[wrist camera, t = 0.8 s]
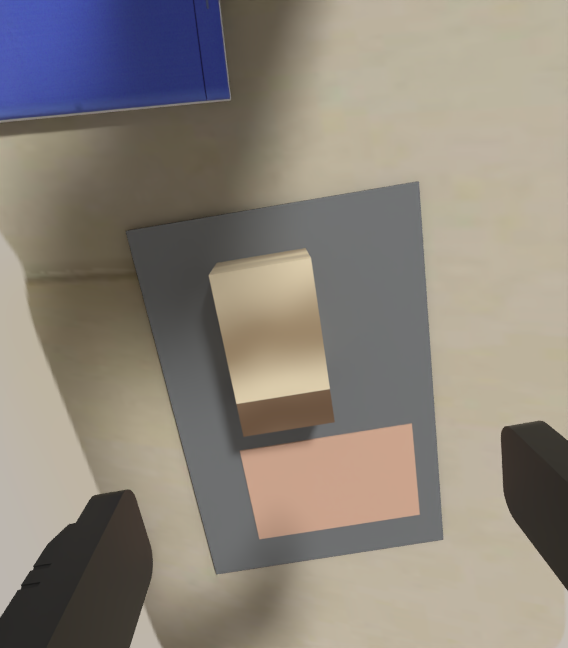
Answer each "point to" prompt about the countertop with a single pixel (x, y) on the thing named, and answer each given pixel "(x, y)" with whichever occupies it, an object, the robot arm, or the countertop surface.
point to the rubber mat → (343, 373)
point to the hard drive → (109, 56)
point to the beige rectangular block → (273, 341)
